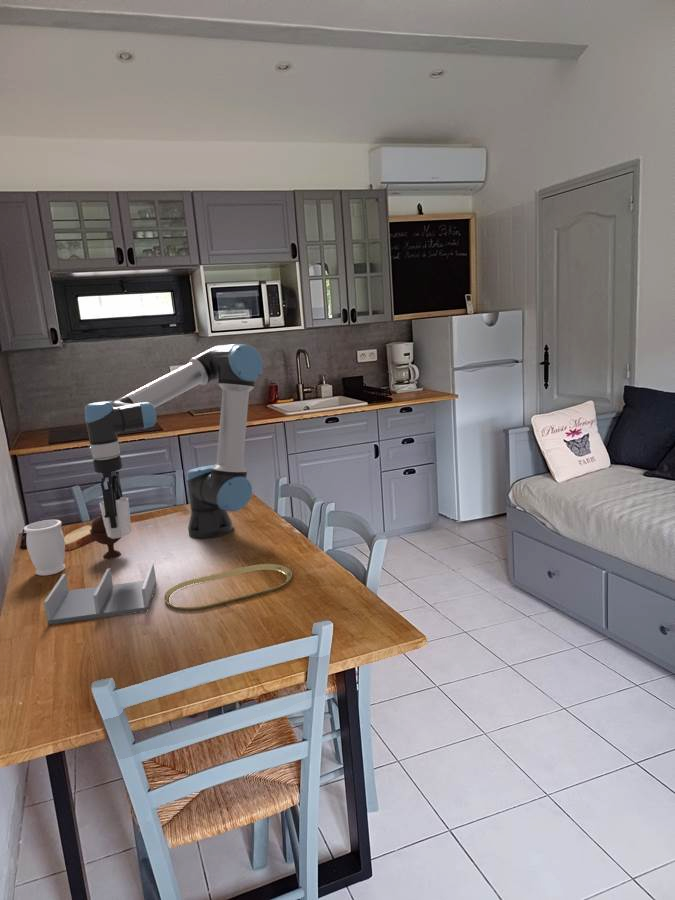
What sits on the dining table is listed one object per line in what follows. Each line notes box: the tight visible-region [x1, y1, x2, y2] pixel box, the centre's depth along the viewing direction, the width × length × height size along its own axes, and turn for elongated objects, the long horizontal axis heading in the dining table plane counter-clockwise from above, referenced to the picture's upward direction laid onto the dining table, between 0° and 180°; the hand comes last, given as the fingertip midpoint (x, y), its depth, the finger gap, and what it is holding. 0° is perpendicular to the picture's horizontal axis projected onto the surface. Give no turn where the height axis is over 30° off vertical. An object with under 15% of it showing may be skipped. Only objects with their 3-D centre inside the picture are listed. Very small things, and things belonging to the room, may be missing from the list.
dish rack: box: [43, 562, 157, 626], centre depth 167 cm, size 24×18×6 cm
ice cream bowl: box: [90, 514, 123, 560], centre depth 202 cm, size 11×11×15 cm
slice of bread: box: [64, 524, 95, 551], centre depth 221 cm, size 18×18×4 cm
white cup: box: [99, 496, 132, 538], centre depth 182 cm, size 8×8×10 cm
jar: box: [23, 519, 66, 577], centre depth 192 cm, size 11×10×15 cm
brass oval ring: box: [163, 563, 293, 611], centre depth 172 cm, size 19×35×2 cm, turn 115°
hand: (119, 532), depth 183 cm, fingers closed on white cup, 7 cm apart
